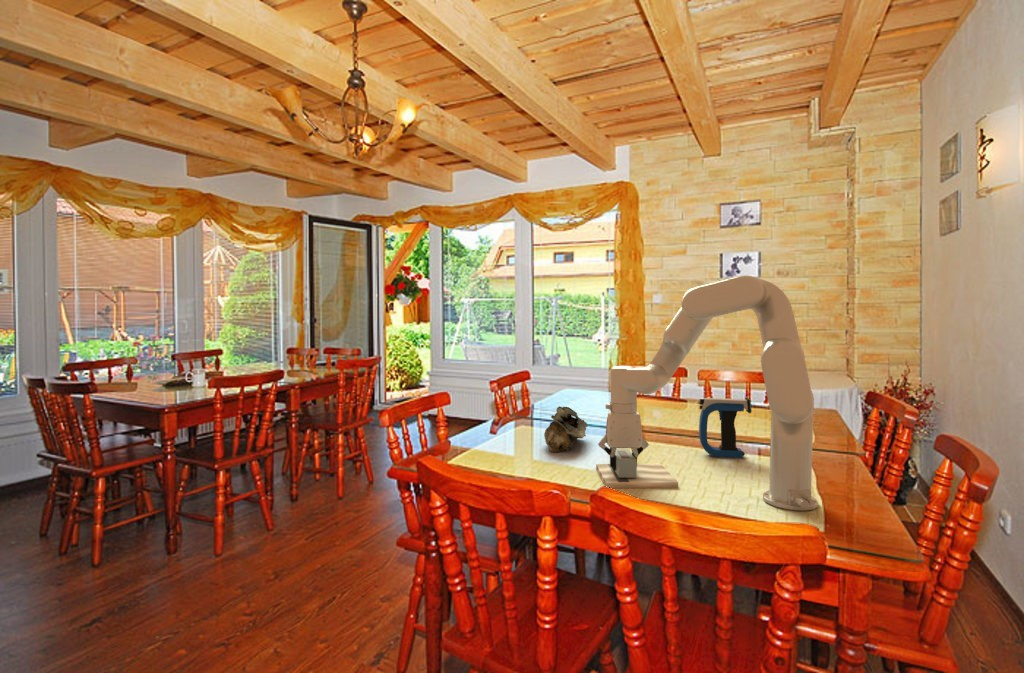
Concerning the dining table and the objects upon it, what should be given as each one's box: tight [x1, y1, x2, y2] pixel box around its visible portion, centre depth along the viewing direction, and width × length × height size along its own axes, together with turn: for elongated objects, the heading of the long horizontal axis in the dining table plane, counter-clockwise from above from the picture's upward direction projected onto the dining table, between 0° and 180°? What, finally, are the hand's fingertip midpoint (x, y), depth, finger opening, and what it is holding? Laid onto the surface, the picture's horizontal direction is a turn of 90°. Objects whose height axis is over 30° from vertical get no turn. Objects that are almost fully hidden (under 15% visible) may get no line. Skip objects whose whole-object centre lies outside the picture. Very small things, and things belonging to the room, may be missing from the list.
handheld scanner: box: [698, 397, 753, 459], centre depth 182 cm, size 5×16×20 cm, turn 78°
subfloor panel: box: [595, 462, 679, 489], centre depth 161 cm, size 18×20×2 cm
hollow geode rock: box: [543, 406, 588, 453], centre depth 200 cm, size 28×13×15 cm
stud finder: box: [615, 448, 638, 478], centre depth 161 cm, size 12×5×5 cm, turn 0°
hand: (623, 468), depth 161 cm, fingers closed on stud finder, 5 cm apart
